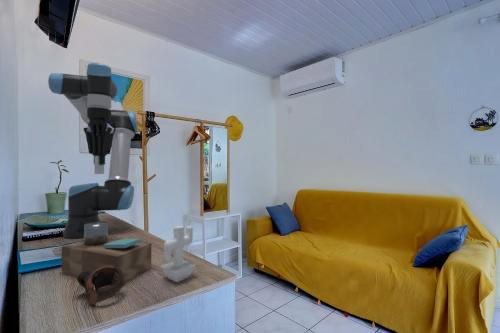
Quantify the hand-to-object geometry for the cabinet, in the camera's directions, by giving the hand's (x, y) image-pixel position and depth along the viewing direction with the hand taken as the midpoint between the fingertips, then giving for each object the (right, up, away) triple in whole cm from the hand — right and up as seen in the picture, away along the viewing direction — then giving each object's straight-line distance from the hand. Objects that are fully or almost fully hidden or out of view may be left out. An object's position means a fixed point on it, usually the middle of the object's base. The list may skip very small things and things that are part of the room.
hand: (99, 173), depth 93 cm
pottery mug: (+17, -30, -29) cm, 45 cm away
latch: (+17, -21, -16) cm, 31 cm away
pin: (+6, -28, -12) cm, 32 cm away
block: (+11, -30, -14) cm, 34 cm away
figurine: (+34, -30, -18) cm, 49 cm away
